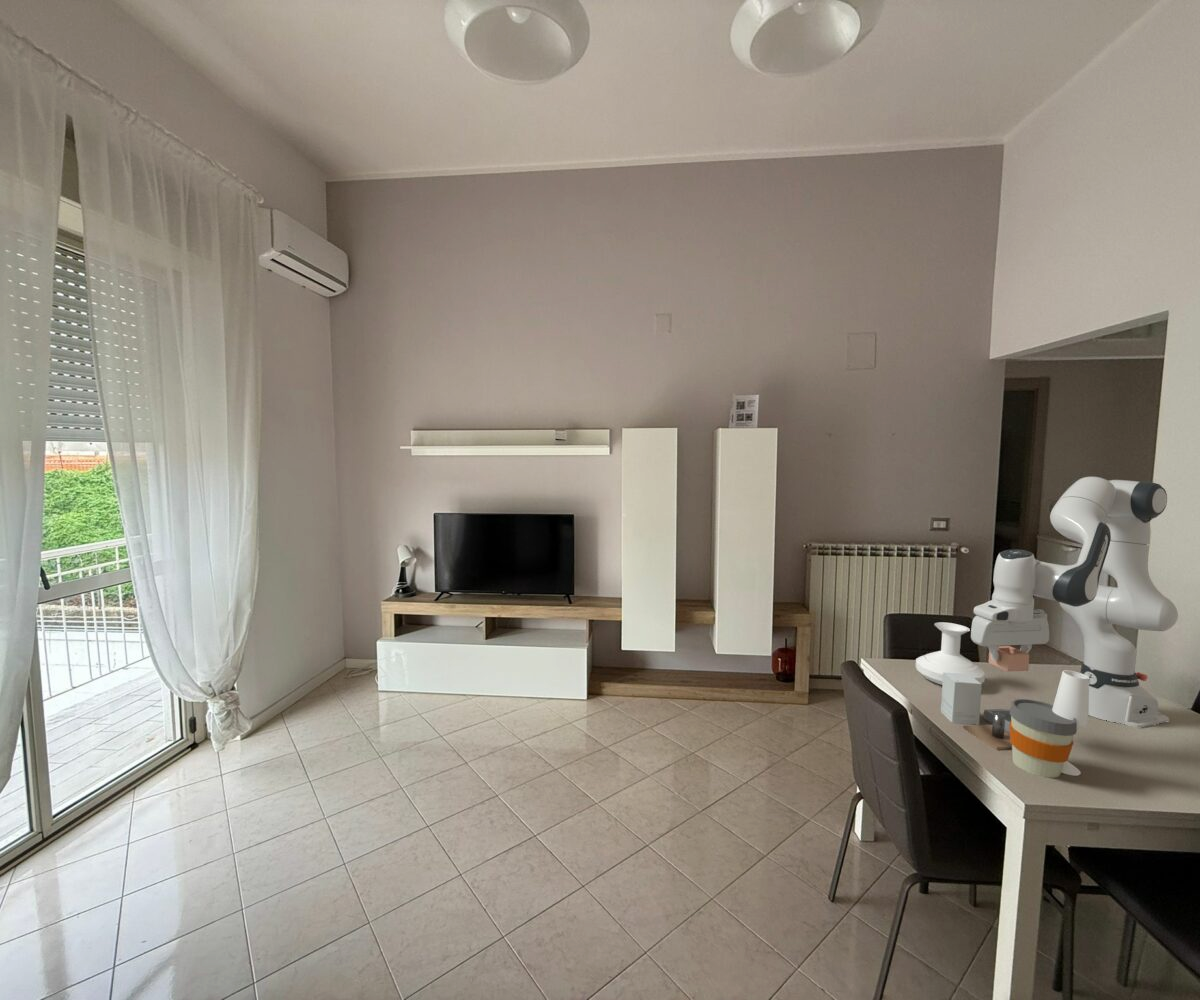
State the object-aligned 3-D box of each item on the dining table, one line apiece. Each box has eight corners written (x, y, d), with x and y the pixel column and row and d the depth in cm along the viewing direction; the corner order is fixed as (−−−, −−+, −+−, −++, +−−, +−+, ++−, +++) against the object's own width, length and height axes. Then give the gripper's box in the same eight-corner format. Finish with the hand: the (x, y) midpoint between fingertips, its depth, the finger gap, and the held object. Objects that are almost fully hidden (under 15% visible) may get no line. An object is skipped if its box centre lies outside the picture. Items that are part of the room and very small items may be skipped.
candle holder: (986, 680, 179) (990, 626, 177) (981, 699, 164) (985, 641, 162) (919, 664, 192) (923, 614, 190) (909, 681, 176) (913, 627, 175)
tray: (1020, 717, 152) (1021, 708, 152) (1060, 739, 140) (1061, 729, 140) (983, 719, 151) (984, 709, 151) (1020, 741, 139) (1021, 731, 139)
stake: (997, 733, 141) (999, 712, 140) (1006, 738, 138) (1008, 716, 138) (989, 733, 140) (990, 712, 140) (997, 739, 138) (999, 717, 137)
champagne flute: (1076, 764, 127) (1090, 673, 125) (1084, 779, 122) (1098, 683, 119) (1041, 755, 131) (1054, 666, 129) (1047, 769, 125) (1060, 675, 123)
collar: (1001, 658, 144) (1003, 643, 144) (1028, 670, 136) (1029, 654, 136) (982, 659, 143) (983, 644, 143) (1007, 671, 135) (1008, 655, 135)
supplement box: (979, 726, 147) (983, 684, 146) (951, 723, 148) (954, 681, 147) (967, 714, 154) (969, 673, 153) (939, 711, 155) (942, 671, 154)
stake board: (995, 728, 146) (995, 724, 146) (1031, 750, 135) (1031, 745, 135) (962, 729, 145) (963, 725, 145) (996, 751, 134) (996, 747, 134)
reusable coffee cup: (1080, 790, 119) (1089, 729, 117) (1015, 776, 123) (1023, 717, 121) (1054, 760, 130) (1062, 704, 129) (995, 748, 135) (1002, 694, 133)
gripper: (1035, 605, 141) (1032, 653, 143) (968, 607, 139) (965, 656, 141) (1058, 612, 135) (1054, 662, 136) (987, 615, 133) (984, 666, 134)
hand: (1008, 659), depth 138 cm, fingers closed on collar, 6 cm apart
